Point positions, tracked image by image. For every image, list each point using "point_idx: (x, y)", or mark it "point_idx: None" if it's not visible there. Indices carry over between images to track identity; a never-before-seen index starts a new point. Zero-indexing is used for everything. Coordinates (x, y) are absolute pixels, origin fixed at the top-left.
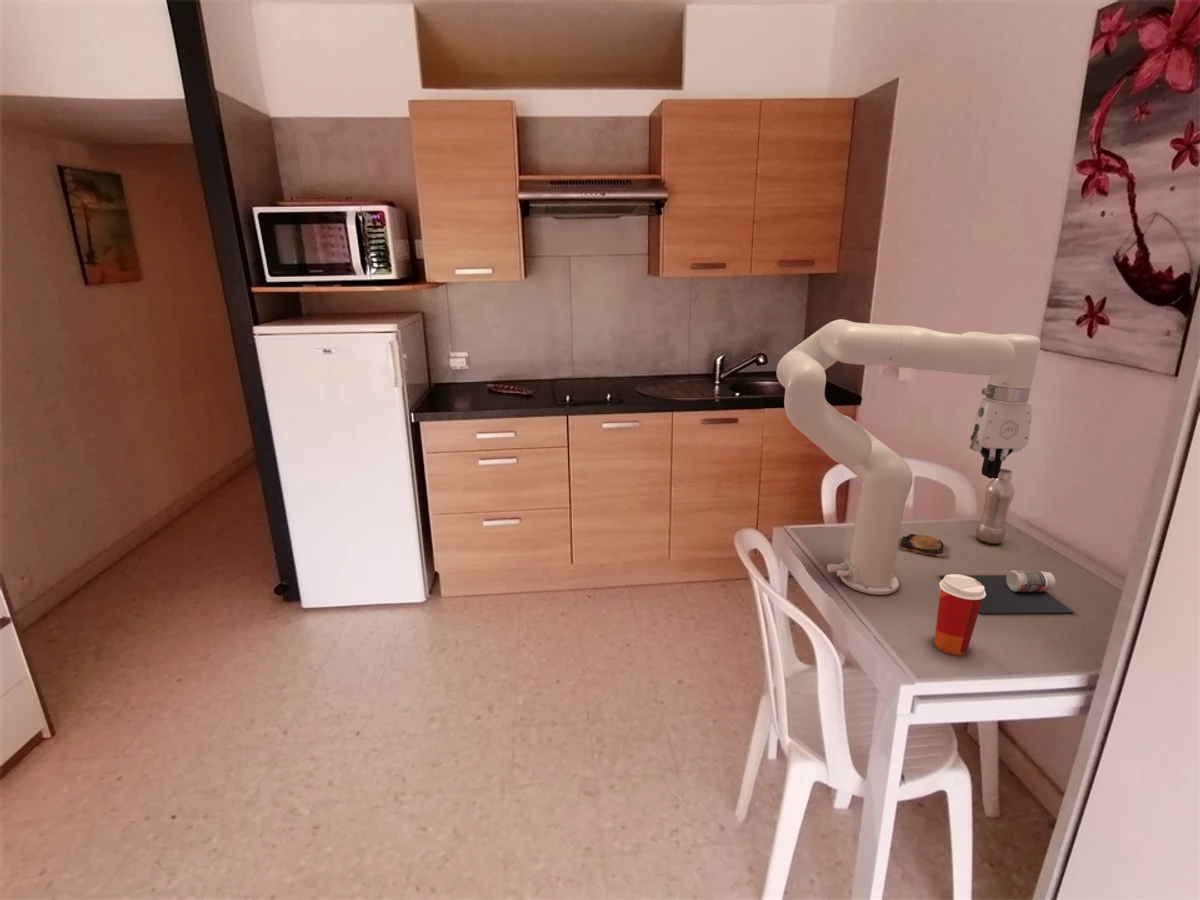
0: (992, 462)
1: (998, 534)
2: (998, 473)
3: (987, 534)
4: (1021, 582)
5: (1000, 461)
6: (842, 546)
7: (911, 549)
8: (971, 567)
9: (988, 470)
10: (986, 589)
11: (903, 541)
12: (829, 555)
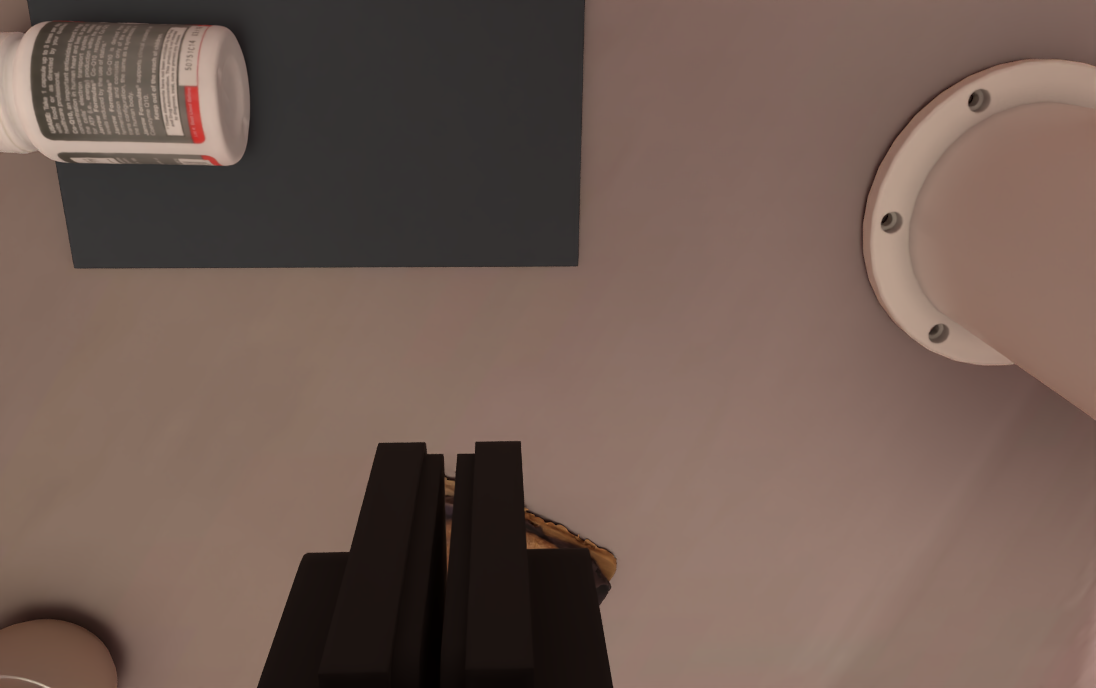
0: (527, 685)
1: (11, 652)
2: (370, 489)
3: (75, 660)
4: (210, 32)
5: (348, 671)
6: (911, 585)
7: (574, 544)
8: (326, 370)
9: (546, 575)
10: (394, 102)
11: None
12: (1039, 492)
